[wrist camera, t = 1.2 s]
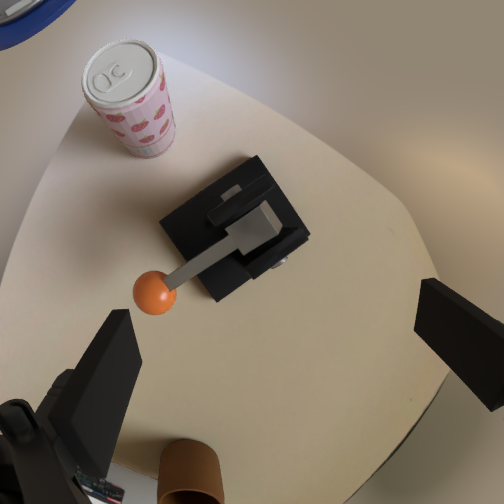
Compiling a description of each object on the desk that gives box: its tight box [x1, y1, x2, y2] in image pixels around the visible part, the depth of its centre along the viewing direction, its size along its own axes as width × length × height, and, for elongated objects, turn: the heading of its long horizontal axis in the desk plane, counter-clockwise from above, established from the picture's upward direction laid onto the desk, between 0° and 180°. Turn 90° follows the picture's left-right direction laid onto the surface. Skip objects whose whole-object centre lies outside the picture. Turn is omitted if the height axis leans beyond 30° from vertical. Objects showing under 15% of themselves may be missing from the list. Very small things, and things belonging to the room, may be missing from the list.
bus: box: [75, 461, 158, 504], centre depth 30 cm, size 14×25×4 cm, turn 61°
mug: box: [157, 440, 224, 504], centre depth 30 cm, size 12×8×9 cm, turn 28°
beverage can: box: [82, 39, 176, 159], centre depth 24 cm, size 6×6×15 cm
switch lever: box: [133, 200, 282, 315], centre depth 23 cm, size 13×4×4 cm, turn 125°
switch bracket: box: [159, 155, 310, 302], centre depth 27 cm, size 12×10×14 cm
